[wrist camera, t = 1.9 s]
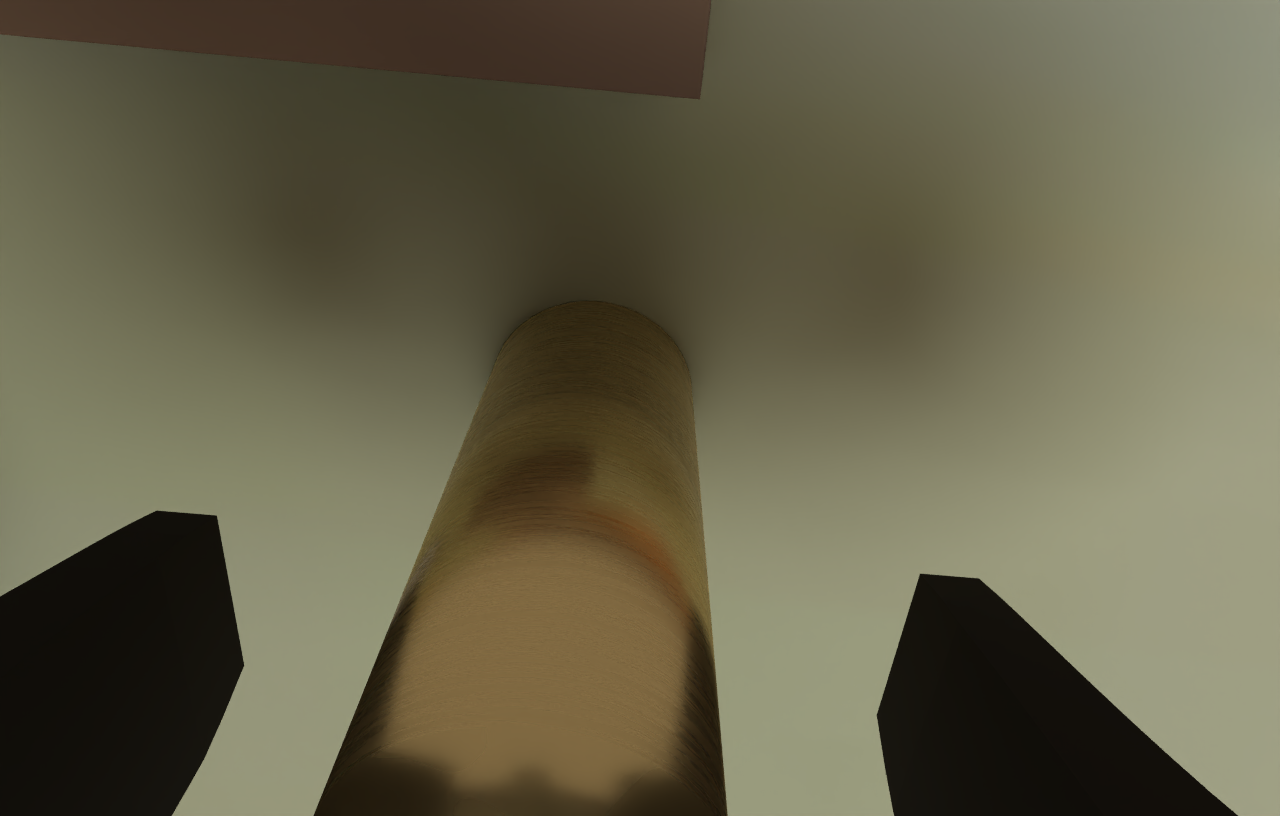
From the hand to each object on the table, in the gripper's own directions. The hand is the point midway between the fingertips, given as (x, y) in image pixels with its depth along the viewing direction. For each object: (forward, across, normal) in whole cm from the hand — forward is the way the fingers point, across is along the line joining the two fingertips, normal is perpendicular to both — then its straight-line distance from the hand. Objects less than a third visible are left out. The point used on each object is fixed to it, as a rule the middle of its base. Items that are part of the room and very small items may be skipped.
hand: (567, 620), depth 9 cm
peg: (+5, 0, 0) cm, 5 cm away
